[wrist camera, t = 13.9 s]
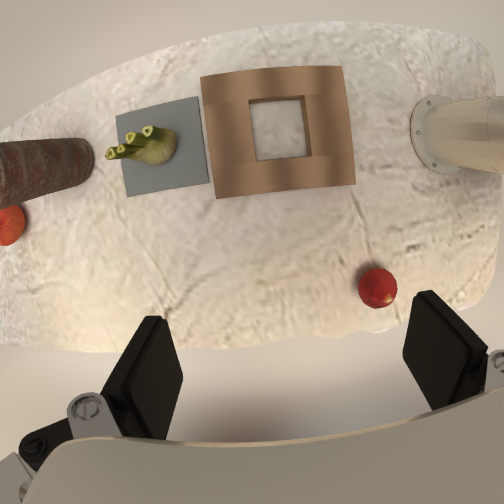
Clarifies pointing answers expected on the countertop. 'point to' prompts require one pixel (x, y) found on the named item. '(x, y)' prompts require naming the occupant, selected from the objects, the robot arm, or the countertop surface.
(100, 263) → the countertop surface
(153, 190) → the mat
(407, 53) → the countertop surface
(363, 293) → the red ovoid
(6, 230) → the apple
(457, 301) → the countertop surface
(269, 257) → the countertop surface
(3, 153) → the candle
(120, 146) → the fennel bulb
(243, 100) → the pocket holder
